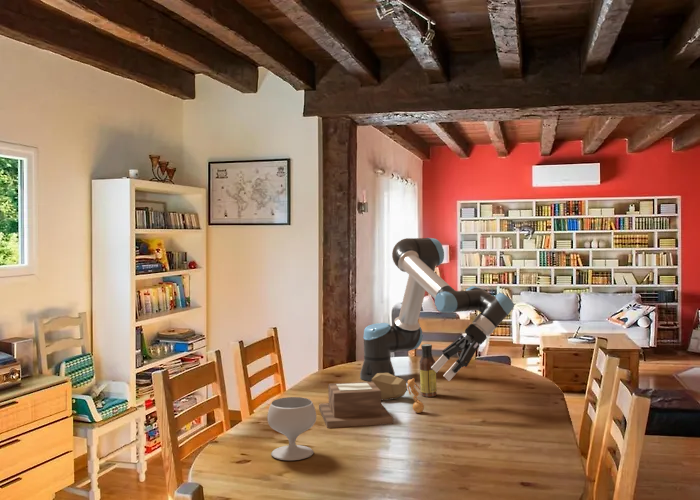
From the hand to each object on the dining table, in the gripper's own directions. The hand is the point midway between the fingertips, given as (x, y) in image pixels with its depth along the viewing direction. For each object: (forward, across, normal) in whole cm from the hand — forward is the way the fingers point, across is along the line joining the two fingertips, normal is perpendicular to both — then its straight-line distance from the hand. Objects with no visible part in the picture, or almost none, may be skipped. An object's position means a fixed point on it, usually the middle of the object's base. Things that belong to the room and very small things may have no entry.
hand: (439, 374), depth 218 cm
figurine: (+16, +1, -3) cm, 16 cm away
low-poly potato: (+19, +20, 0) cm, 27 cm away
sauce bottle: (+8, +22, -11) cm, 26 cm away
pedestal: (+31, +1, +12) cm, 33 cm away
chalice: (+48, -32, +30) cm, 65 cm away
